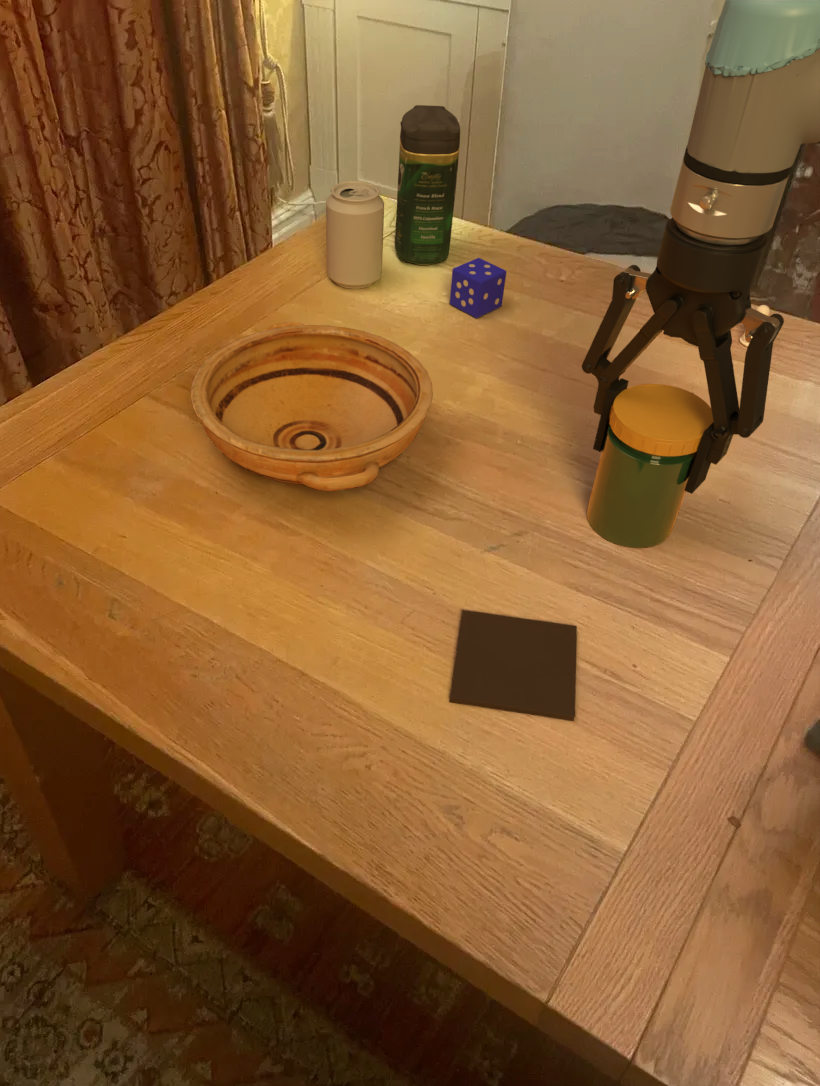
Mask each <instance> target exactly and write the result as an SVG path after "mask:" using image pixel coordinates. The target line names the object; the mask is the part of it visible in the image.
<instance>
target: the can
mask: <svg viewBox="0 0 820 1086" xmlns="http://www.w3.org/2000/svg"><path fill="white" fill-rule="evenodd" d="M330 193H331V194H330V195H328V197H327V199H326V201H325V231H326V233H325V236H326V239H325V241H326V243H325V244H326V274H327V277H328V278H330V279H331V281H333V282H334V284H336V285H337V286H339V287H341V288H346V289H354V290H355V289H356V290H357V289H364V288H368V287H370V286H372V285H374V284H375V282H377V281H378V280H379V279H380V278H381V277H382V273H383V256H384V255H383V253H384V252H383V251H384V222H385V201H384V199H383V197H382V196H381V195H380V193H381V191H380V189H379V187H378V186H376V185H375V184H373V183H371V182H366V181H361V180H347V181H341V182H339V183H336V184H335V185H333V186H332V187H331V188H330Z"/></svg>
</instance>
